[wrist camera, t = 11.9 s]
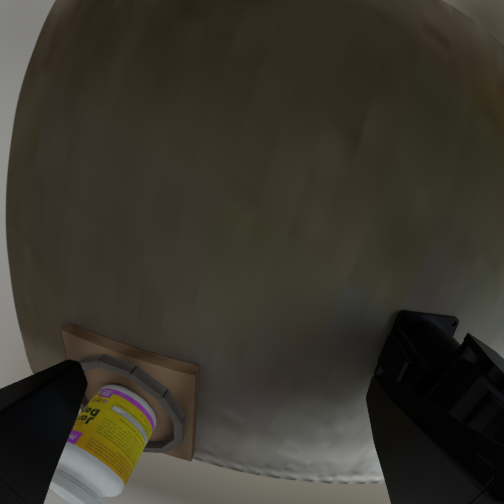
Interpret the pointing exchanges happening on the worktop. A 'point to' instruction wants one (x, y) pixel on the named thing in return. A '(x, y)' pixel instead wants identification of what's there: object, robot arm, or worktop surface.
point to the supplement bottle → (103, 446)
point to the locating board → (142, 385)
